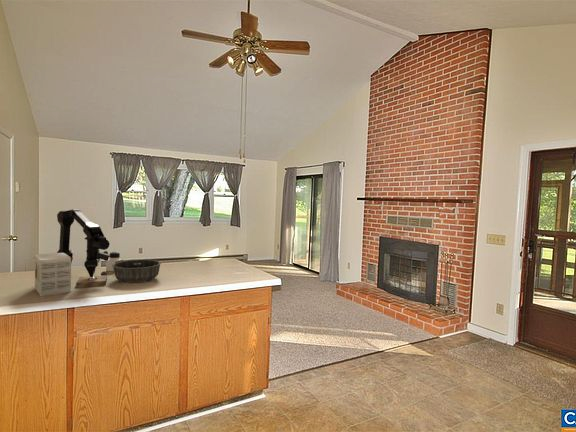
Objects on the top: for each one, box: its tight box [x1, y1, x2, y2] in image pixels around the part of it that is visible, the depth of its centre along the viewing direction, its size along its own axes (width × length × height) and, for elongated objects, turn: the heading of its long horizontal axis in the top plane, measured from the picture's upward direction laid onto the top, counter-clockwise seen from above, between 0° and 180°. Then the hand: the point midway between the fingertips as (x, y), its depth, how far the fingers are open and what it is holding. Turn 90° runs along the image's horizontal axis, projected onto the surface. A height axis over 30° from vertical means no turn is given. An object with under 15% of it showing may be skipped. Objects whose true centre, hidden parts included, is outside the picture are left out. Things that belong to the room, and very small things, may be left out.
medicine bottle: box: [105, 251, 124, 273], centre depth 223 cm, size 7×7×12 cm
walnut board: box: [75, 274, 108, 288], centre depth 190 cm, size 14×14×2 cm
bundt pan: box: [112, 259, 162, 284], centre depth 202 cm, size 26×26×10 cm
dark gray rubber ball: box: [100, 270, 108, 276], centre depth 205 cm, size 4×4×4 cm
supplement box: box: [34, 252, 72, 297], centre depth 174 cm, size 17×13×18 cm
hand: (92, 275), depth 190 cm, fingers open, 9 cm apart
